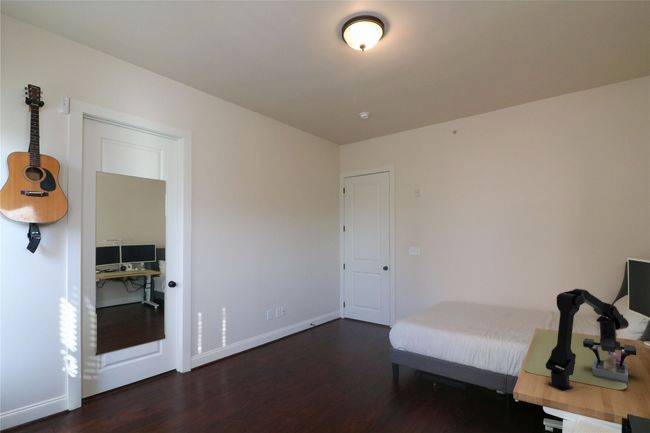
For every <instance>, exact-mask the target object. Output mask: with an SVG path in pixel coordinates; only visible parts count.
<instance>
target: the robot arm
mask: <svg viewBox="0 0 650 433" xmlns="http://www.w3.org/2000/svg"><path fill="white" fill-rule="evenodd" d="M583 304H587V305H589V306H590V307H591V308H592V309H593V312H595V314H596V315H598V316H599V317H598V318H597V319H596V322H597V323H599V335H600V336H599V338H600V339H599V342H597V341H595V339H593V338H592V339H591V338H584V339H583V341H582V347H584V348H587V349H589V350H591V351H592V352H593V353H594V355H595V357H596V359H597V360H598V362H599V363H600V359H601V357H600V352H599V348H600V349H601V351H603V352H608V351H609V352H615V351H621V352H620V356H621V359H620V367H622V364H623V362H624V361H625V359H626V358H627V357H631V356H637V346H635V345H630V344H625V343H624V345H621V342H620V341H617V332H616V331H618V330H624V329H628V327H629V325H630V324H629V321H628V320H627V319H626V317H624V314H621V313H620V311H619V310H618V308H617V306H616V305H614V304H611V303H607V302H605V301H603V300H601V299H599V298H598V297H597V296H595V295H593V294H592V293H590V292H589V291H588V290H587V289H582V288H574V289H572V290H569V291H568V290H567V291H563V292H560V293H559V294H557V296H556V307H557V309H558V311H559V322H558V329H557V330H558V331H557V341H556V345H555V347H553V348H552V350H551V352H550V356H549V358H548V360H547V361H546V363H545V368H546V370H549V371H550V377H551V378H550V379H551V380H550V381H551V382H548V385H549V386H551V387H552V388H556V389H558V390H560V391H567V390H571V389H573V388H574V386H572V385H570V376H573V375H574V370H575V364H576V363H577V362H576V358H577V355H576V353H574V352H573V351H572V349H571V347H572V339H573V338H572V337H573V329H574V328H573V327H574V319H575V315H577V313H578V312H579V311H580V306H581V305H583Z"/></svg>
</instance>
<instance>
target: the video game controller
mask: <svg viewBox="0 0 650 433" xmlns="http://www.w3.org/2000/svg"><path fill="white" fill-rule="evenodd" d="M607 356H609V357H611V358H616V362H618V363H620V359H621V354H619V353H618V352H617V350H615V352H609V351H607ZM623 364H628V363H627V362H626V361H625V360H624V362H623Z"/></svg>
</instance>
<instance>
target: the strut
mask: <svg viewBox="0 0 650 433" xmlns="http://www.w3.org/2000/svg"><path fill="white" fill-rule="evenodd" d="M603 360H604V370H608V371H613V372H616V370H617V368H616V358H612V357H611V356H604V358H603Z"/></svg>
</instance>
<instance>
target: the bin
mask: <svg viewBox="0 0 650 433" xmlns="http://www.w3.org/2000/svg"><path fill="white" fill-rule="evenodd" d="M616 368H617V370H616V372H613V371H608V370H604V359H601V358H600V363H599V362H598V360H597V357H596V358H594V360H593V364H592V377H596V378H601V379H605V380H611V381H615V382H619V381H620V383H625V384H629V365H628V363H627V364H622V367H620V363H618V362H616Z"/></svg>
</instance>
